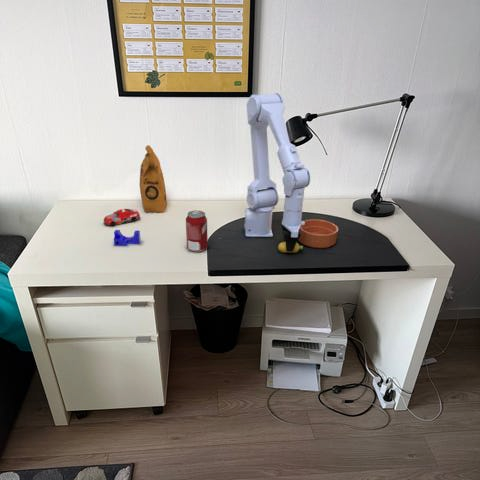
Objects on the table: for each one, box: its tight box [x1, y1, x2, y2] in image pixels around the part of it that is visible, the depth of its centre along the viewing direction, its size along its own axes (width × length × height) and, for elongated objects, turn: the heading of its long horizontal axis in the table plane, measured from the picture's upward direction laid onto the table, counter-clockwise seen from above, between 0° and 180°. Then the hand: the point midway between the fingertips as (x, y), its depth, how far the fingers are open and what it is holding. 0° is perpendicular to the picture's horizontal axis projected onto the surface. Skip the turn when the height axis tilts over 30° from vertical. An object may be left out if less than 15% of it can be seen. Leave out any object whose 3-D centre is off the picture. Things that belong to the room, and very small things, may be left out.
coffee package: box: [139, 144, 168, 213], centre depth 165 cm, size 10×12×22 cm
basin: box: [297, 218, 339, 249], centre depth 150 cm, size 13×13×5 cm
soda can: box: [185, 210, 208, 253], centre depth 140 cm, size 7×7×12 cm
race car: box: [103, 208, 141, 227], centre depth 158 cm, size 13×5×4 cm, turn 123°
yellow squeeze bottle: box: [277, 241, 304, 254], centre depth 143 cm, size 8×3×3 cm, turn 93°
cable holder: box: [113, 229, 142, 247], centre depth 144 cm, size 8×4×4 cm, turn 90°
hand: (288, 248), depth 143 cm, fingers closed on yellow squeeze bottle, 3 cm apart
